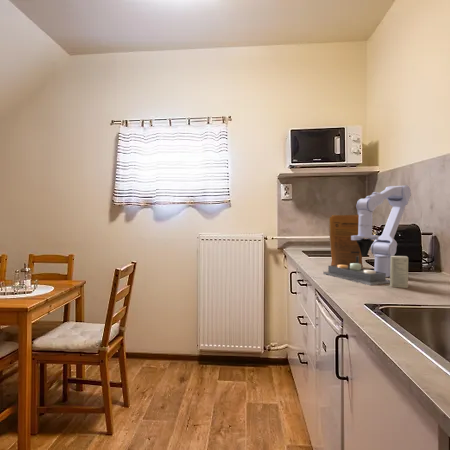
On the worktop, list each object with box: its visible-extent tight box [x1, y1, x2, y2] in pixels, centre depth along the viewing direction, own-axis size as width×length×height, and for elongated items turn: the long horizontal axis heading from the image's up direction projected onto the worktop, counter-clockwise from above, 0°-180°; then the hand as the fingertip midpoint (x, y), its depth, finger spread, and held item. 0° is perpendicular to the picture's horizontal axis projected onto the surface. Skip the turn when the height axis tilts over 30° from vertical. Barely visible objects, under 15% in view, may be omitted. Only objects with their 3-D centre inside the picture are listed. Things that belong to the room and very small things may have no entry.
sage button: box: [350, 263, 361, 271], centre depth 163 cm, size 5×5×3 cm
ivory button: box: [364, 269, 376, 274], centre depth 156 cm, size 5×5×3 cm
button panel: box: [323, 265, 390, 286], centre depth 163 cm, size 12×28×4 cm, turn 26°
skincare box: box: [389, 255, 409, 289], centre depth 146 cm, size 6×4×12 cm
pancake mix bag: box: [328, 214, 366, 269], centre depth 196 cm, size 7×19×28 cm, turn 67°
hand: (364, 256), depth 162 cm, fingers closed
